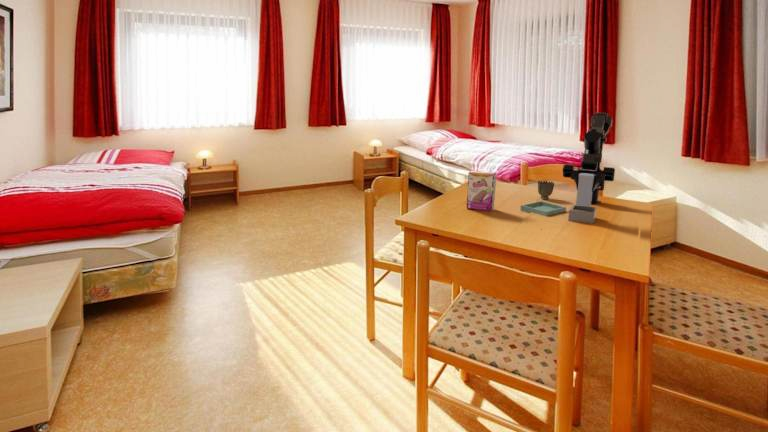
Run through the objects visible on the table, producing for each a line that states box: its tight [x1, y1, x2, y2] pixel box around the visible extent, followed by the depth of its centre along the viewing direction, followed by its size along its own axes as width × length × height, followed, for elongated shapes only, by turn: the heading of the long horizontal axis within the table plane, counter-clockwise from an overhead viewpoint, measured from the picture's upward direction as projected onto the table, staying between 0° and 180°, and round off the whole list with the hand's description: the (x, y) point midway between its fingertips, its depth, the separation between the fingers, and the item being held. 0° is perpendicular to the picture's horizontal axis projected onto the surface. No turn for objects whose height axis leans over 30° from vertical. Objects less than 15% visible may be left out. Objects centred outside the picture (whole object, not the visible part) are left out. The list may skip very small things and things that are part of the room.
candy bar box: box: [466, 170, 497, 212], centre depth 200 cm, size 11×5×16 cm, turn 65°
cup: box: [537, 180, 555, 200], centre depth 218 cm, size 8×7×8 cm
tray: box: [520, 200, 567, 217], centre depth 198 cm, size 13×13×2 cm
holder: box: [567, 204, 597, 224], centre depth 184 cm, size 9×9×5 cm
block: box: [575, 173, 595, 207], centre depth 181 cm, size 5×5×12 cm
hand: (584, 190), depth 180 cm, fingers closed on block, 5 cm apart
